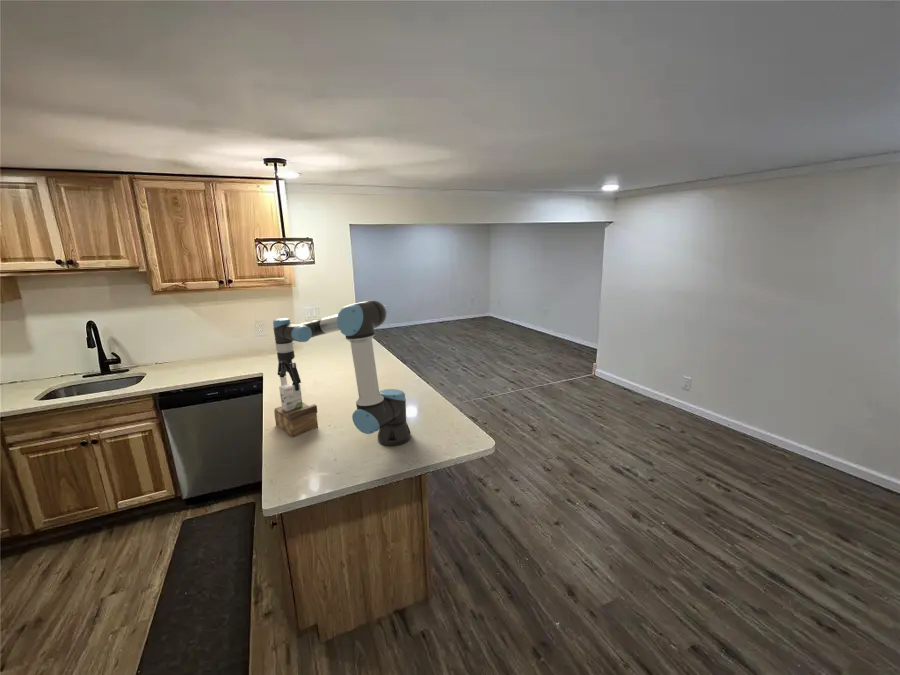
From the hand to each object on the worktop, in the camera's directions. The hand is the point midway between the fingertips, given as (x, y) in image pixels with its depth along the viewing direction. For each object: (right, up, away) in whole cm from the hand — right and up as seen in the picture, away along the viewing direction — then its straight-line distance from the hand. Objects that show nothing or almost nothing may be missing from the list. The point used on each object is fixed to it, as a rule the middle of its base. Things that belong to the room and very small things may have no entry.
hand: (290, 393), depth 194 cm
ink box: (0, -8, +2) cm, 8 cm away
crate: (+2, -17, +2) cm, 17 cm away
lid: (+3, -9, 0) cm, 9 cm away
